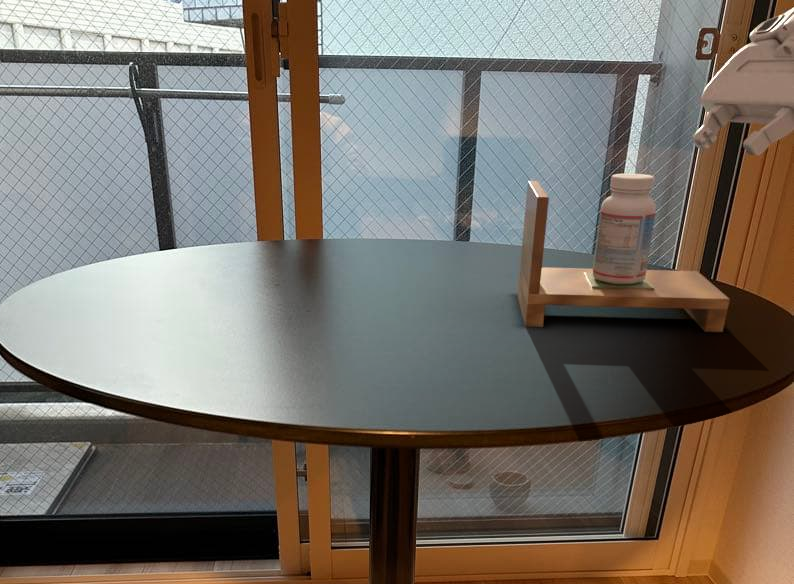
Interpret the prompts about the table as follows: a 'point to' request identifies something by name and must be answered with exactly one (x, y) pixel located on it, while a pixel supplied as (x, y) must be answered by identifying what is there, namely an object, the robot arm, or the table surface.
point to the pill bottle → (625, 230)
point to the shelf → (585, 290)
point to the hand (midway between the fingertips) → (722, 147)
